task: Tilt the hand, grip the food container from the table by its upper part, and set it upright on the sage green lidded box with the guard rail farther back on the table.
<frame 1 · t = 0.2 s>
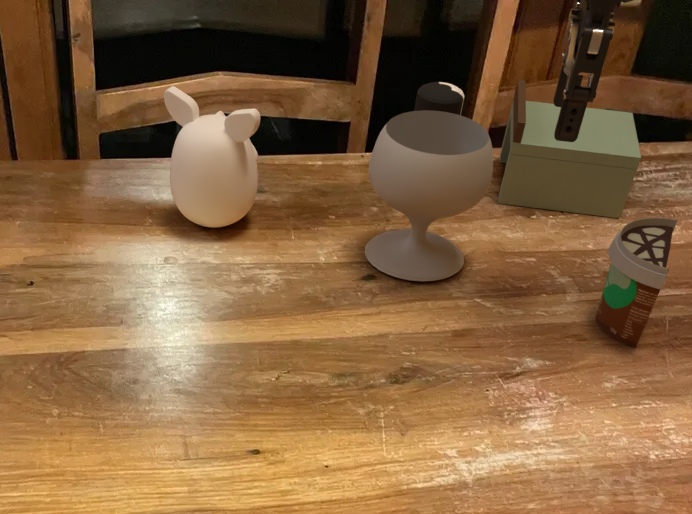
hand: (563, 122, 94), 20 cm above the table, tool pointing down, fingers open, 8 cm apart
piggy bank: (212, 220, 119), on the table
sage green lidded box: (556, 187, 128), on the table
food container: (612, 321, 107), on the table
chalice: (413, 259, 115), on the table
medicine bottle: (424, 182, 128), on the table
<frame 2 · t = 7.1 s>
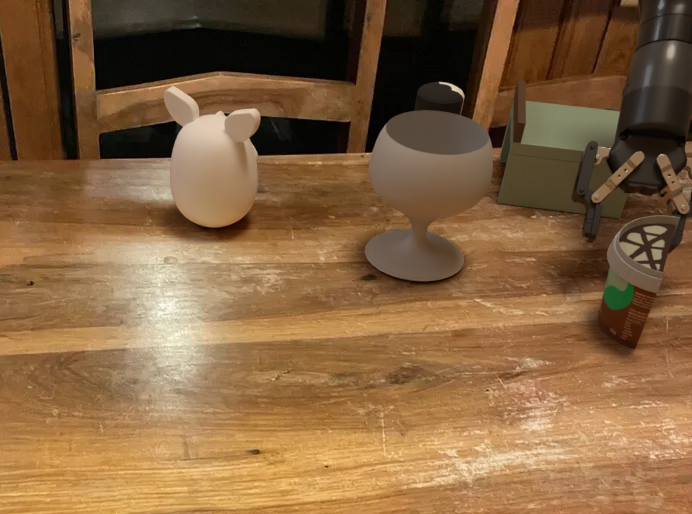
hand: (629, 246, 105), 7 cm above the table, tool tilted 45°, fingers open, 8 cm apart
food container: (614, 319, 107), on the table, touching gripper
everything else where it was.
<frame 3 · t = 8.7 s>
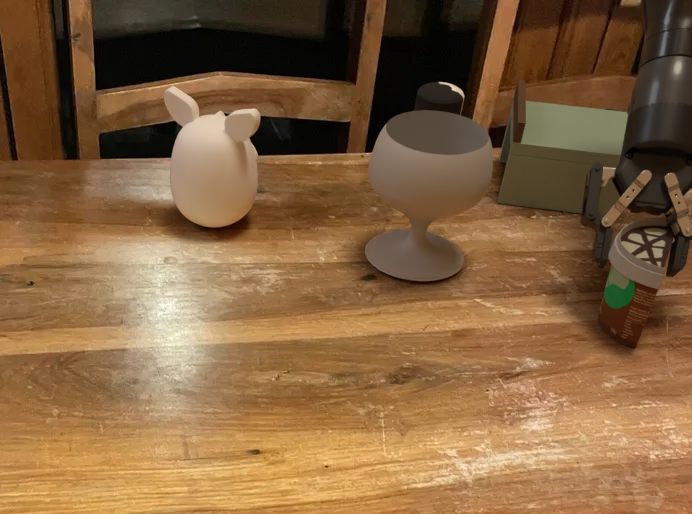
hand: (636, 270, 102), 7 cm above the table, tool tilted 45°, fingers closed on food container, 7 cm apart
food container: (614, 321, 107), on the table, touching gripper
everything else where it was.
when the fingers open (15 cm above the table, at t = 19.7 s): food container stays where it is, resting on sage green lidded box.
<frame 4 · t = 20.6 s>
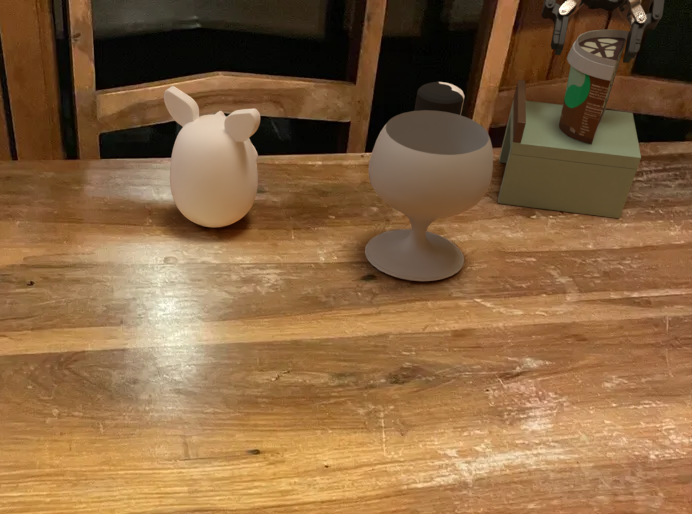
hand: (593, 55, 117), 16 cm above the table, tool tilted 45°, fingers open, 8 cm apart
food container: (573, 127, 123), point 8 cm above the table, touching gripper, sage green lidded box
everything else where it was.
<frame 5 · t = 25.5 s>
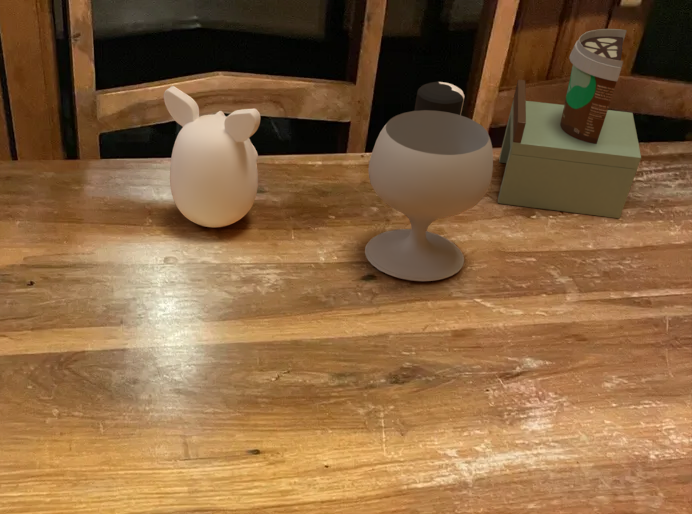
food container: (574, 127, 123), point 8 cm above the table, touching sage green lidded box
everything else where it was.
at the end: food container inside the target area on the sage green lidded box (0.4 cm from its centre), point 7.8 cm above the sage green lidded box's base; food container tilted 0°; the gripper is holding nothing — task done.
